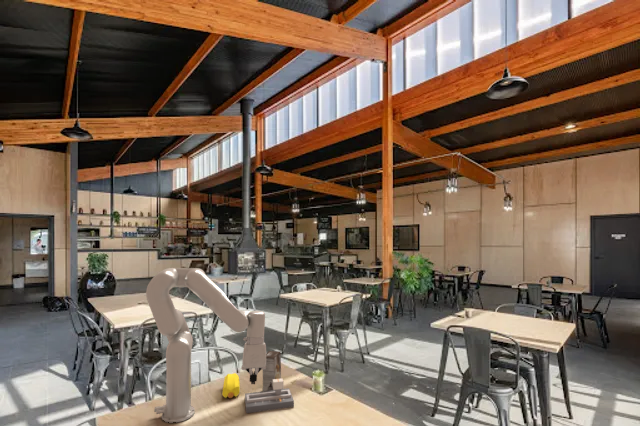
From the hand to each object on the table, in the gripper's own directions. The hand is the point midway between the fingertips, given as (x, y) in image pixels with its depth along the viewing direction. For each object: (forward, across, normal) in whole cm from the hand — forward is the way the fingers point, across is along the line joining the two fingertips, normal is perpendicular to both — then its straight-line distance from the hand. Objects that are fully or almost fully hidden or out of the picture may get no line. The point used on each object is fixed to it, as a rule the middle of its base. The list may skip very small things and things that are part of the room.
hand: (253, 382), depth 151 cm
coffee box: (+9, +10, +14) cm, 19 cm away
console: (+9, +7, -1) cm, 11 cm away
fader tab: (+6, +11, -1) cm, 13 cm away
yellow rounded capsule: (+10, -9, +16) cm, 20 cm away
